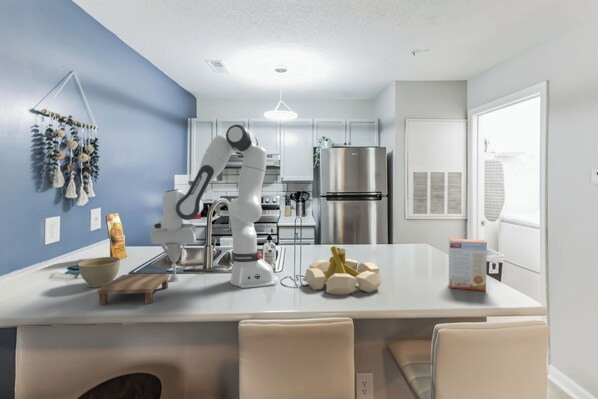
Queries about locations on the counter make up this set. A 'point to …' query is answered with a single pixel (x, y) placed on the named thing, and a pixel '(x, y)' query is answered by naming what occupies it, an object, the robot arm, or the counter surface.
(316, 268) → the campfire
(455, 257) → the cracker box
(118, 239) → the pancake mix bag
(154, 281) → the stool
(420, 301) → the counter surface
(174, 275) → the chalice
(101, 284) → the planter bowl
